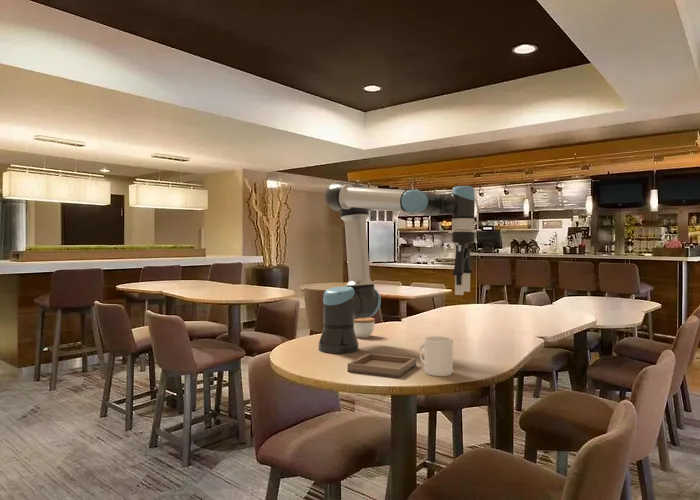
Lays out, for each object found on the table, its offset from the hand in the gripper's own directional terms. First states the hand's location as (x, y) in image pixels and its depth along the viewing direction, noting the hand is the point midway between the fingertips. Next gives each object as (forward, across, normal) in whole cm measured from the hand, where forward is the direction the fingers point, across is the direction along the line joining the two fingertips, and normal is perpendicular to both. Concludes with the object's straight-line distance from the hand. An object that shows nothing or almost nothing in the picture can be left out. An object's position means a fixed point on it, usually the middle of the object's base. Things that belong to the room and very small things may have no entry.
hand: (462, 293), depth 172 cm
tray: (+23, -22, +21) cm, 39 cm away
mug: (+24, -20, +5) cm, 31 cm away
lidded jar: (+24, +30, +48) cm, 62 cm away
